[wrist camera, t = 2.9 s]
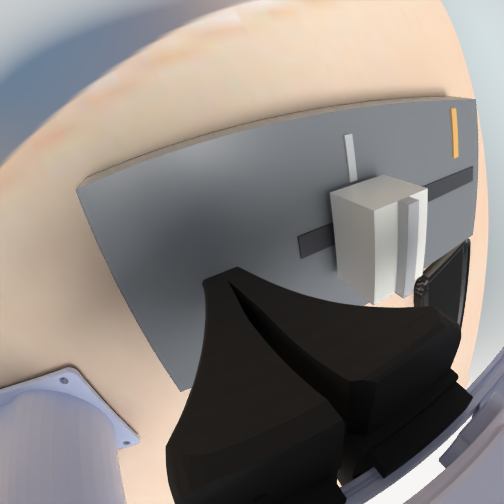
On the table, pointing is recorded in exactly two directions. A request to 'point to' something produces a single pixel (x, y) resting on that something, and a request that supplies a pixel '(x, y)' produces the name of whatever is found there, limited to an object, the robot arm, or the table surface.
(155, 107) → the table surface
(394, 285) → the fader
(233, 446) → the robot arm
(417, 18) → the table surface
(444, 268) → the phone
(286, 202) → the console
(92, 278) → the table surface
